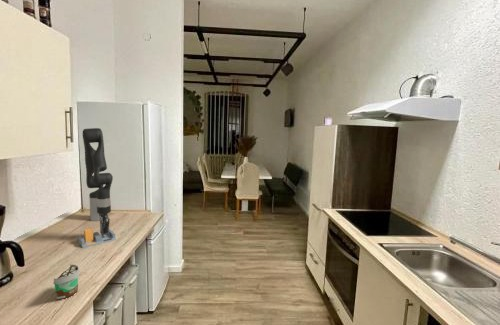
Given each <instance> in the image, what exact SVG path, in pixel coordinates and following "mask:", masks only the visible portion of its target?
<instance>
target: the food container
mask: <svg viewBox="0 0 500 325" xmlns="http://www.w3.org/2000/svg"><path fill="white" fill-rule="evenodd" d="M80 274H81V270H80V267H79V266H78V265H76V264H70V266H69V267H68V268H67V269H66V270H64V271H63V272H62V273H61V274H59V276H58V277H56V278H54V279H53V285H54V289H55V296H56V297H55V298H56V301H63V300H62V299H64V300H67V299H69V297H70V298H71V296H72V297H73V296H75V295H76V294H77V293H78V289H79V275H80ZM75 293H76V294H75ZM74 294H75V295H74ZM66 298H67V299H66Z"/></svg>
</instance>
